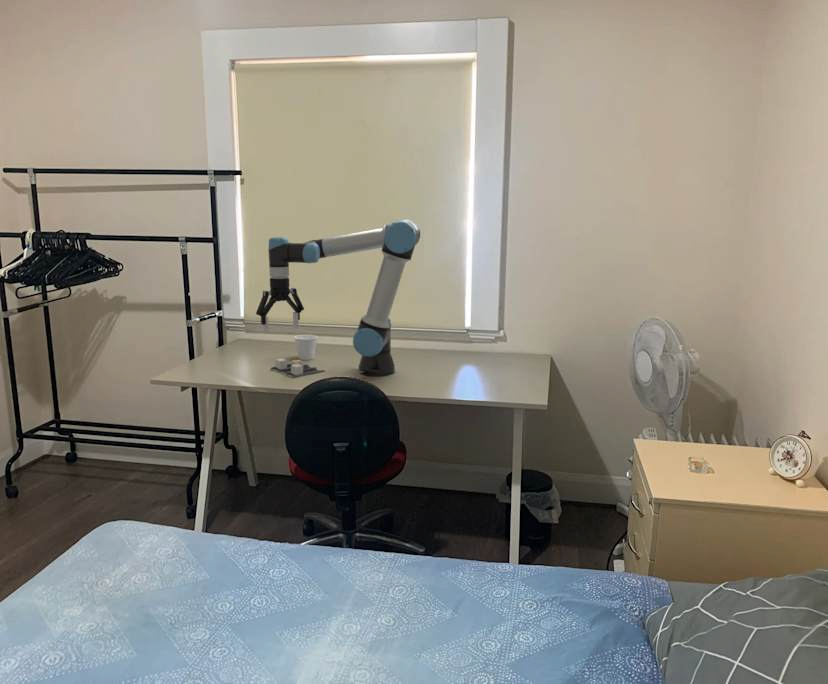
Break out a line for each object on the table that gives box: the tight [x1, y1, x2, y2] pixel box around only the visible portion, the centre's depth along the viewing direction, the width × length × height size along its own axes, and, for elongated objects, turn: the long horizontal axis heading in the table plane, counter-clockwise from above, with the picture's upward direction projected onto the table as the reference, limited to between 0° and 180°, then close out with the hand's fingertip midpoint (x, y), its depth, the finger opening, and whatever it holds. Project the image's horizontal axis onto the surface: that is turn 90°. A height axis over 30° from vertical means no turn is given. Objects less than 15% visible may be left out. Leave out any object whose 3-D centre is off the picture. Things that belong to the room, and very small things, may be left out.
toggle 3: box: [291, 364, 303, 375], centre depth 276 cm, size 4×3×4 cm
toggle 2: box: [291, 359, 304, 366], centre depth 283 cm, size 4×3×4 cm
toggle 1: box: [274, 358, 288, 369], centre depth 284 cm, size 4×3×4 cm
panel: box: [269, 362, 327, 379], centre depth 283 cm, size 18×16×2 cm
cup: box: [293, 334, 318, 361], centre depth 302 cm, size 10×10×11 cm
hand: (281, 330), depth 275 cm, fingers open, 13 cm apart
